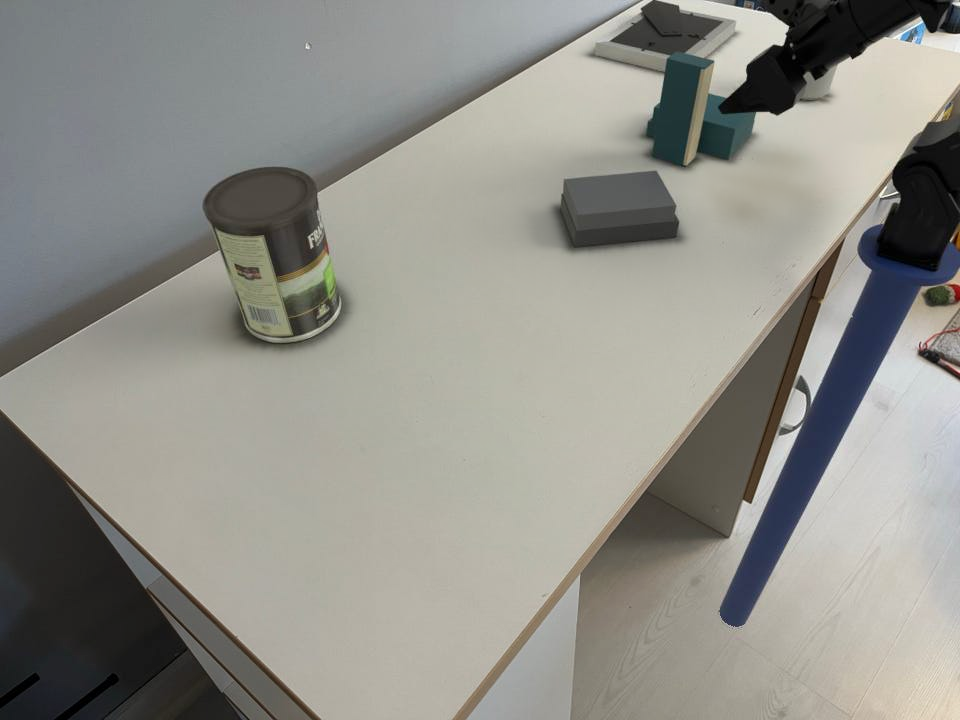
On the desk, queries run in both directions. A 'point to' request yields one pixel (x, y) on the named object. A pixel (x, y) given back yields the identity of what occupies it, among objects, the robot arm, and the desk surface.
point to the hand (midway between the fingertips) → (735, 95)
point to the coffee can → (275, 252)
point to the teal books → (716, 129)
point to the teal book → (682, 107)
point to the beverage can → (818, 85)
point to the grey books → (618, 208)
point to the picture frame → (664, 35)
